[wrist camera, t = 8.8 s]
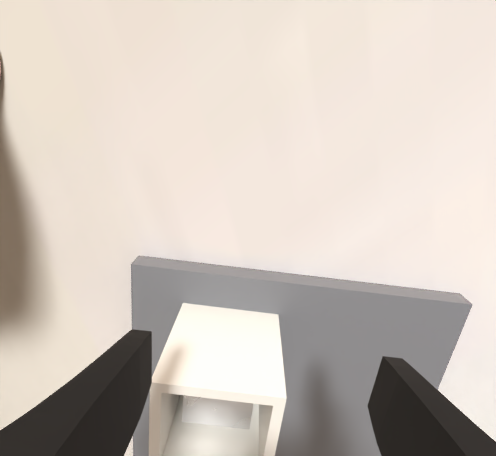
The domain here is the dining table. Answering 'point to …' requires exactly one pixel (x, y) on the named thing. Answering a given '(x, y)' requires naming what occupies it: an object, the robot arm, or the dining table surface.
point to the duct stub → (217, 412)
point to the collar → (218, 382)
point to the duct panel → (309, 341)
